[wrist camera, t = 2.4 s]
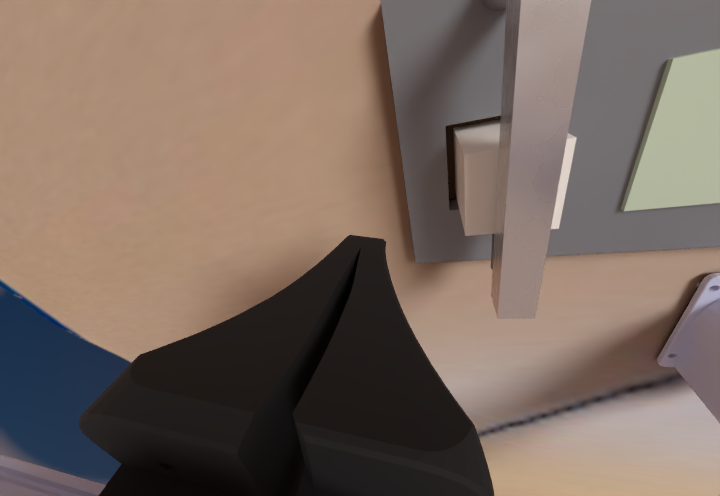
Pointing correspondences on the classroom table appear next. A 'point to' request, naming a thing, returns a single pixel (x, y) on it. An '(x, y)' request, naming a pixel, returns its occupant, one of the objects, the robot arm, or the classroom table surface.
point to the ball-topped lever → (532, 142)
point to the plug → (490, 177)
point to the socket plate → (588, 122)
